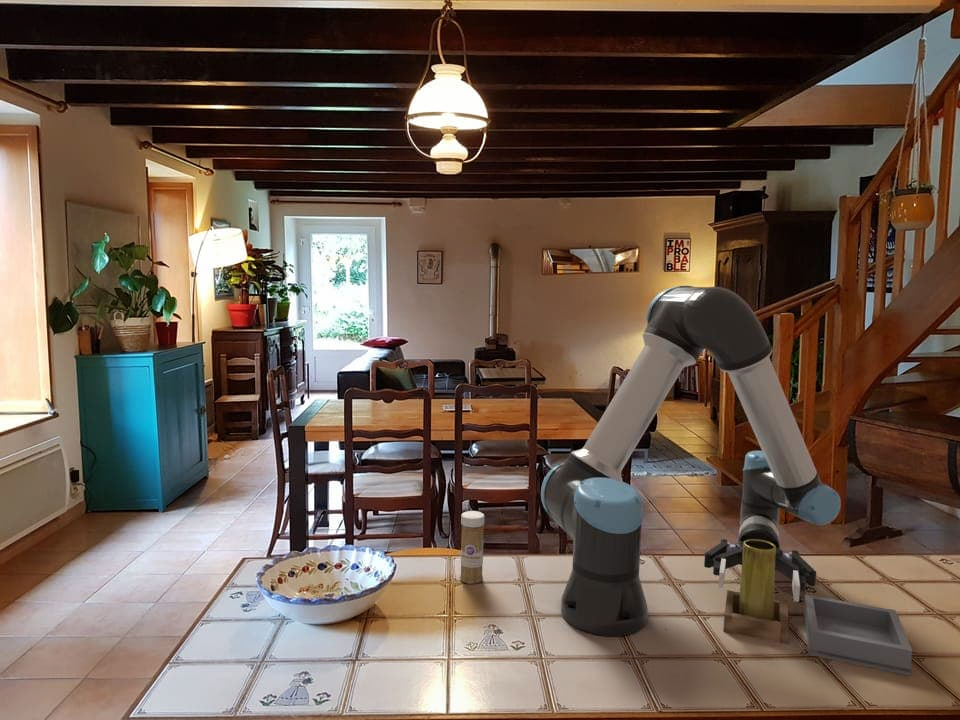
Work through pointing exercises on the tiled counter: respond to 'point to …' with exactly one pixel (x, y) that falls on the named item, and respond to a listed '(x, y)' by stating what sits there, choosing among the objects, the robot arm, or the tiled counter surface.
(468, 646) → the tiled counter surface
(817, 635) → the tray
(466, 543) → the sprinkles bottle
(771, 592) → the vase
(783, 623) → the socket
